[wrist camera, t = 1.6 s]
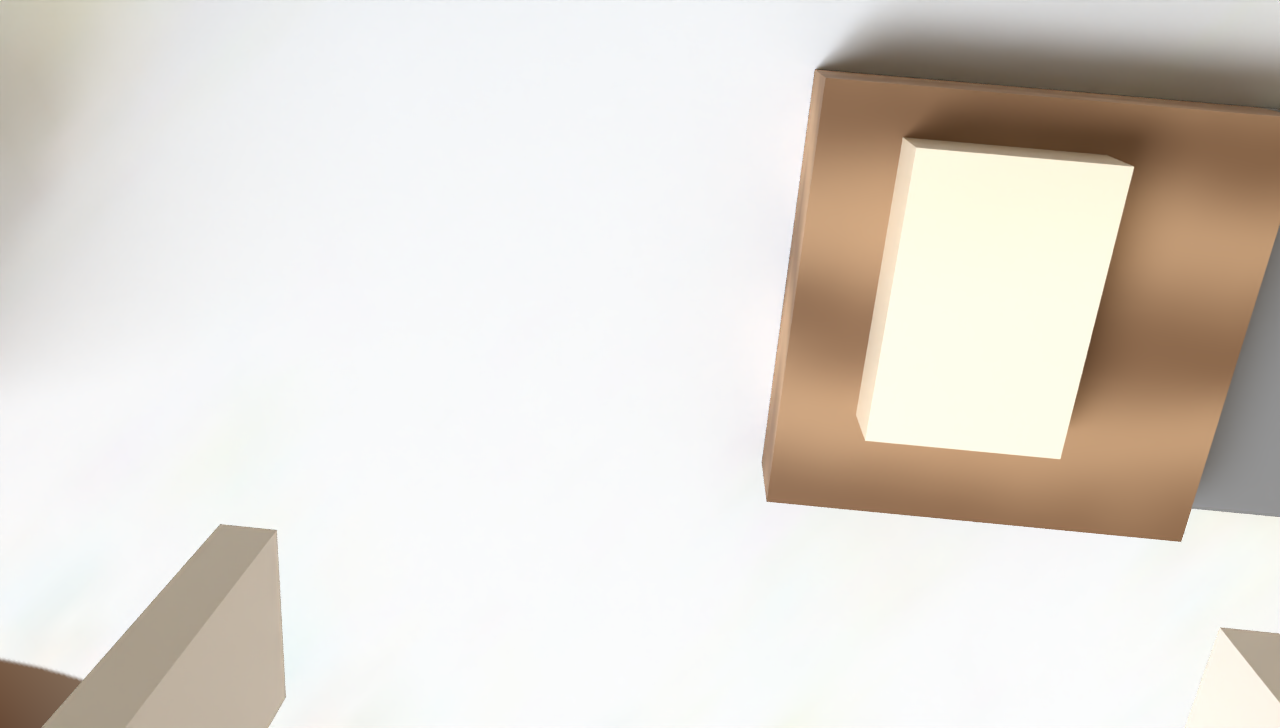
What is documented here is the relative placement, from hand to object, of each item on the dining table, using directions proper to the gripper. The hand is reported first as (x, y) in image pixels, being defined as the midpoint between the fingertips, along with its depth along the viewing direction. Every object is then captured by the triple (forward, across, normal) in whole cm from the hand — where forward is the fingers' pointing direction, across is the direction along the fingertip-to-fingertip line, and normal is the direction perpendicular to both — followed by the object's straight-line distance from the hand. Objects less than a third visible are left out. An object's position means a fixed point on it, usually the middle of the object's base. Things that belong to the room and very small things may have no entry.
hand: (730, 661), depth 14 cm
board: (+22, +10, -1) cm, 24 cm away
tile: (+19, +8, 0) cm, 21 cm away
